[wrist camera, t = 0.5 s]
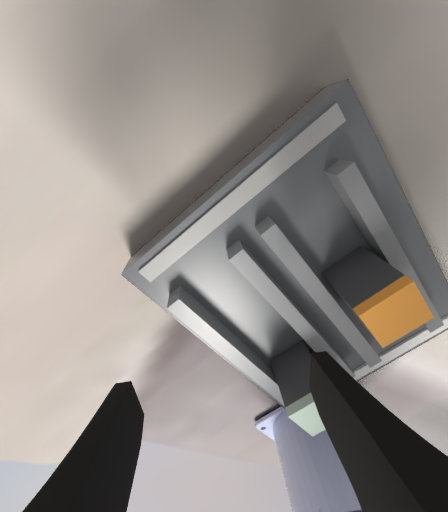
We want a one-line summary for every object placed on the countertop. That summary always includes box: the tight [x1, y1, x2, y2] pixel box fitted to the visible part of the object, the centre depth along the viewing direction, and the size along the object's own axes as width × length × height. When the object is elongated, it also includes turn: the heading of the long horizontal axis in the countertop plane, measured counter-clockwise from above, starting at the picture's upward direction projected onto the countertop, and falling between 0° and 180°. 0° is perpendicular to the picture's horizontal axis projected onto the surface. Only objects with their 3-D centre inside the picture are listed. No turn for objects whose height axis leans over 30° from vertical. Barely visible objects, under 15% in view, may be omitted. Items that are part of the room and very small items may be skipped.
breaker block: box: [121, 79, 448, 437], centre depth 17 cm, size 20×16×7 cm
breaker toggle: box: [322, 246, 434, 348], centre depth 15 cm, size 3×3×4 cm
